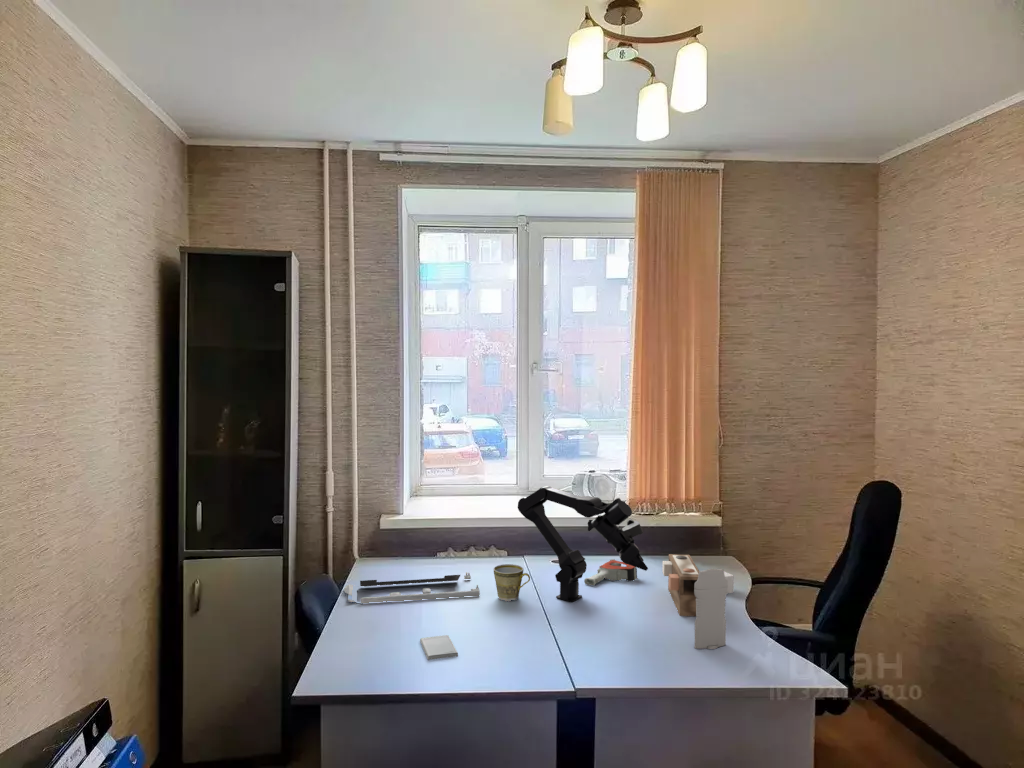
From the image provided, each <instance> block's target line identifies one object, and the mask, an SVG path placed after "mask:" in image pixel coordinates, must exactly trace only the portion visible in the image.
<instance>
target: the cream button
mask: <svg viewBox="0 0 1024 768" xmlns="http://www.w3.org/2000/svg"><path fill="white" fill-rule="evenodd" d="M662 574H663V577H668V576H669V574H672V562H671V561H669V560H662Z"/></svg>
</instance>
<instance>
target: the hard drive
mask: <svg viewBox="0 0 1024 768" xmlns="http://www.w3.org/2000/svg"><path fill="white" fill-rule="evenodd" d="M419 640H420V641H419V642H420V645H421V644H422V645H421V647H422V650H423V652H424V655H425V656H426V659H427V661H431V660H439V659H447V658H455V657H459V653H458V651H457V649H456V647H455V645H454V643H453V641H452V640H451V638H450V636H449V635H447V634H446V635H445V634H444V635H435V636H429V637H421V638H420V639H419Z"/></svg>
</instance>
